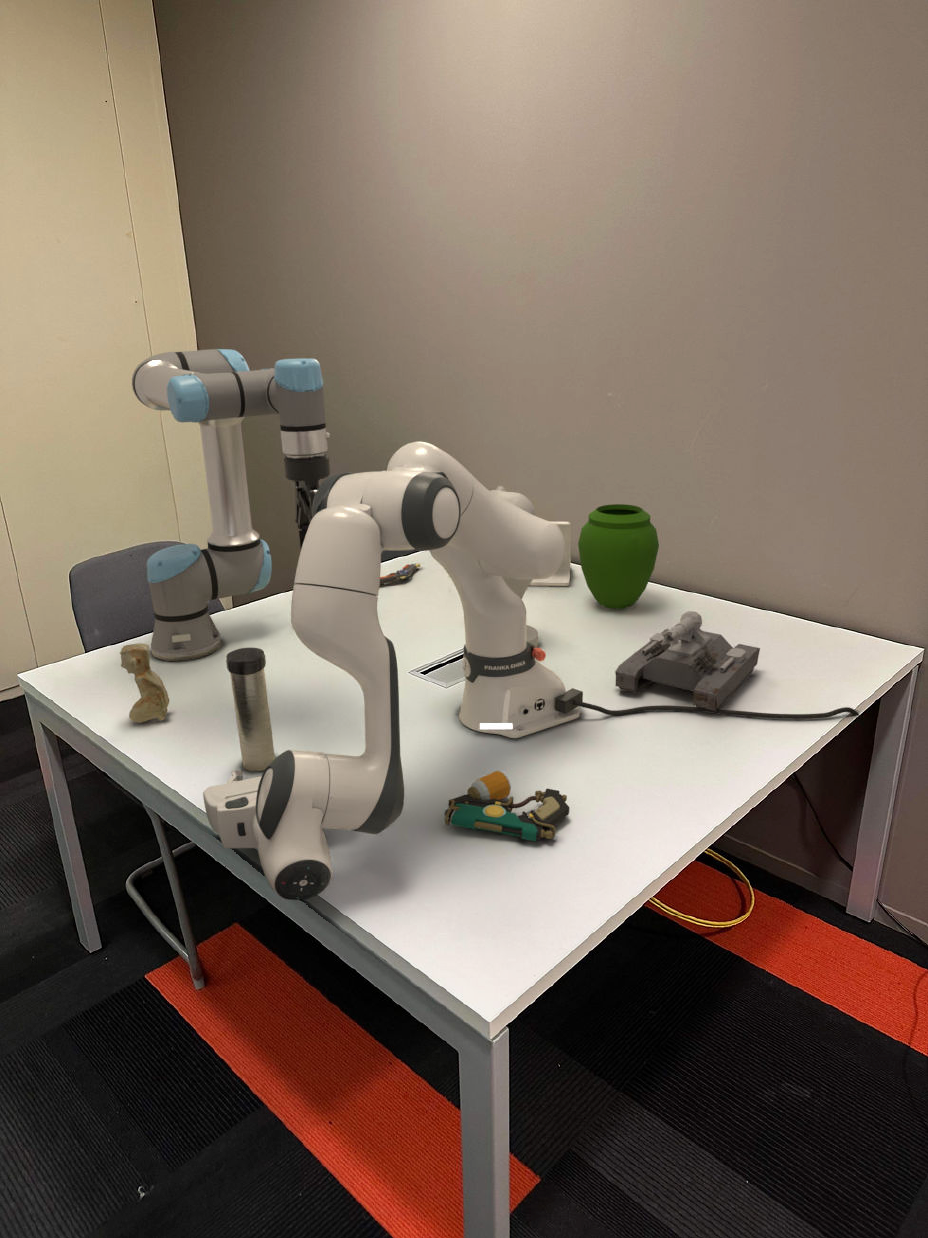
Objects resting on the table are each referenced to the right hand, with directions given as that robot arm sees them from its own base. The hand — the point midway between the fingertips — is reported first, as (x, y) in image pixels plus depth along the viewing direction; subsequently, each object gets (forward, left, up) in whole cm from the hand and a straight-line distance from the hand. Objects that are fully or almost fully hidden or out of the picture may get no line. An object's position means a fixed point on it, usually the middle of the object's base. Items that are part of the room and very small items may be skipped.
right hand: (268, 768), depth 132 cm
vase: (-94, -58, -6) cm, 110 cm away
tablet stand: (-83, -89, -6) cm, 122 cm away
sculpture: (+17, -38, -6) cm, 42 cm away
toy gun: (-50, -103, -6) cm, 115 cm away
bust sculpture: (-58, -48, -6) cm, 75 cm away
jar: (0, -13, -6) cm, 15 cm away
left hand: (-15, -26, +22) cm, 37 cm away
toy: (-84, -12, -6) cm, 85 cm away
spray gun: (-32, +19, -6) cm, 38 cm away
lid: (0, -13, +14) cm, 19 cm away
